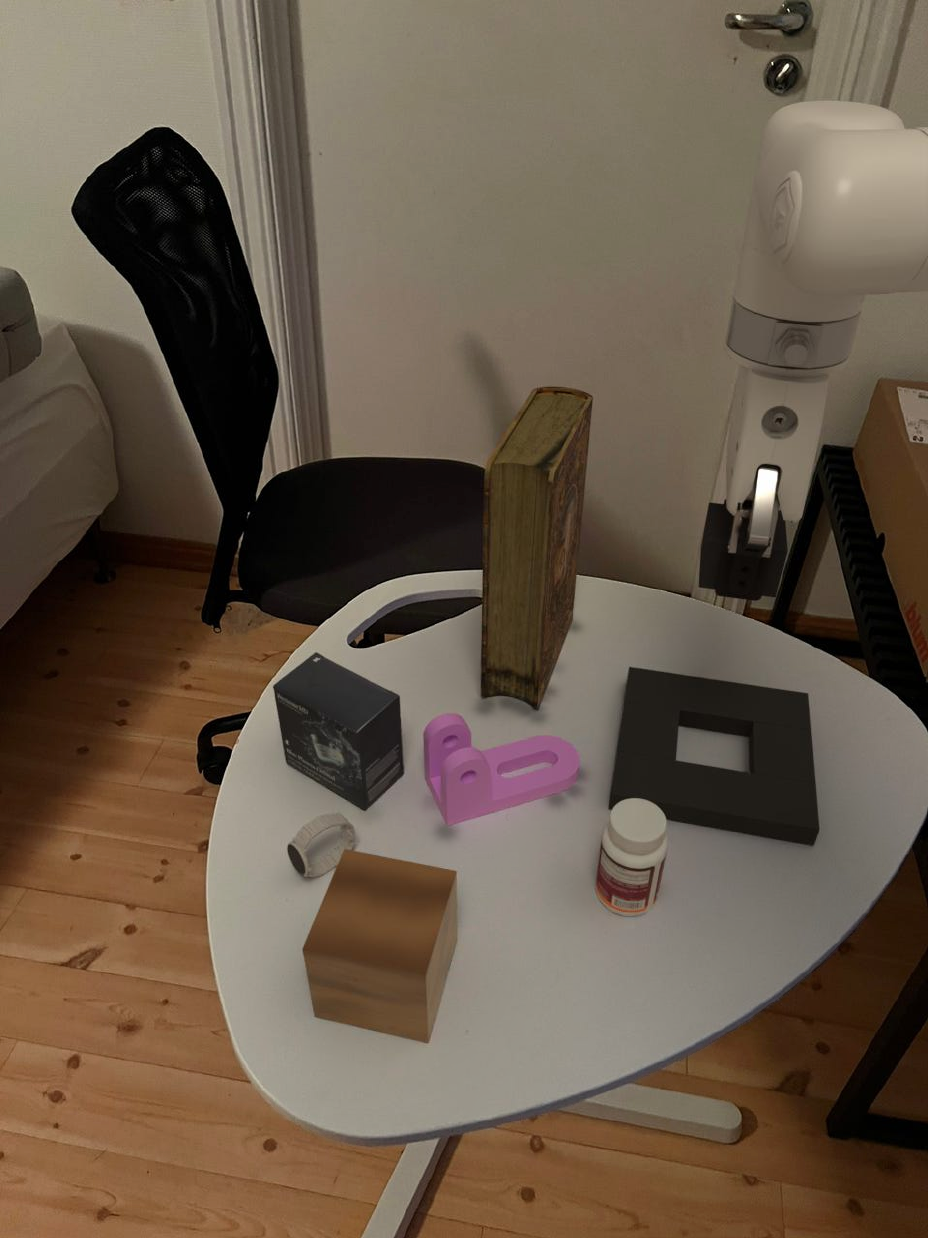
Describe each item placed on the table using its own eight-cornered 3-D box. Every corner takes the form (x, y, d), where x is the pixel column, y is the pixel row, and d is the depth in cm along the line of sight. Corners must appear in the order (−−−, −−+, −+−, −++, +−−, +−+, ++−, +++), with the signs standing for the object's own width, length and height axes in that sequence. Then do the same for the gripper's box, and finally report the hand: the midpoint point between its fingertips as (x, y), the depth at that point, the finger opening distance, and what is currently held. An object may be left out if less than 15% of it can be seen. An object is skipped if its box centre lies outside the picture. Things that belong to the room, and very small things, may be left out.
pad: (775, 597, 66) (787, 550, 64) (698, 587, 67) (707, 541, 65) (773, 556, 70) (784, 510, 68) (700, 547, 71) (709, 501, 69)
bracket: (447, 826, 76) (446, 766, 72) (424, 778, 80) (422, 719, 76) (589, 783, 80) (596, 724, 76) (561, 739, 84) (566, 681, 80)
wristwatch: (289, 871, 73) (281, 829, 69) (342, 838, 75) (337, 796, 72) (309, 895, 71) (302, 853, 68) (363, 860, 73) (359, 818, 70)
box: (283, 765, 81) (269, 684, 76) (326, 729, 85) (316, 648, 79) (364, 814, 77) (356, 731, 71) (406, 773, 81) (402, 692, 75)
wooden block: (428, 1044, 62) (425, 976, 57) (314, 1017, 63) (301, 949, 58) (457, 939, 68) (456, 870, 63) (352, 918, 69) (344, 848, 64)
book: (525, 603, 100) (536, 383, 85) (575, 613, 99) (595, 391, 84) (480, 702, 88) (484, 465, 72) (536, 715, 86) (552, 476, 71)
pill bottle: (623, 856, 74) (635, 783, 69) (670, 894, 71) (686, 822, 66) (581, 888, 71) (590, 815, 66) (628, 930, 68) (641, 857, 63)
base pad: (813, 846, 74) (819, 829, 73) (608, 809, 77) (610, 793, 76) (803, 709, 87) (808, 693, 86) (627, 682, 90) (629, 666, 89)
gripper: (869, 394, 50) (795, 651, 61) (841, 290, 64) (785, 517, 75) (726, 381, 52) (680, 635, 63) (728, 281, 65) (689, 506, 76)
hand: (737, 569), depth 69 cm, fingers closed on pad, 5 cm apart
